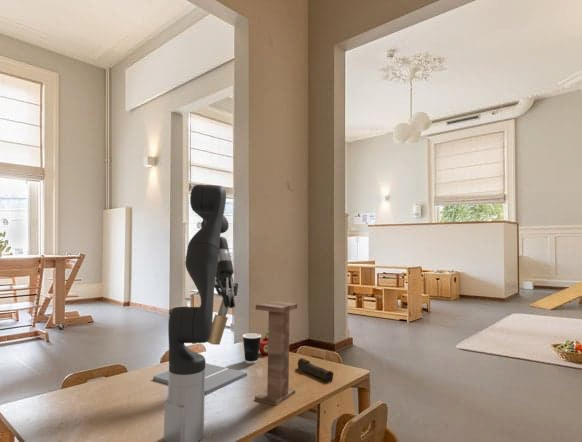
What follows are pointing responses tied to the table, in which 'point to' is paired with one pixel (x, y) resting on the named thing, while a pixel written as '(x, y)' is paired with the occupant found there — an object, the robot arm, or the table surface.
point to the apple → (264, 345)
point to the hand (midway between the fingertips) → (230, 306)
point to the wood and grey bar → (219, 323)
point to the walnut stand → (277, 352)
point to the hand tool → (315, 370)
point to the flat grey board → (211, 377)
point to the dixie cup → (251, 347)
